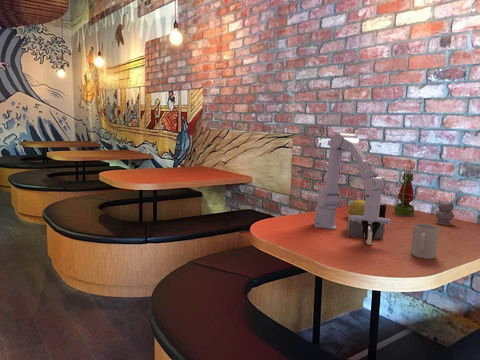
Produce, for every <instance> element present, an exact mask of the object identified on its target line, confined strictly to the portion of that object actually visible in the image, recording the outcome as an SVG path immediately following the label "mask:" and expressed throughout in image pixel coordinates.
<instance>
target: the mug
mask: <svg viewBox="0 0 480 360" xmlns="http://www.w3.org/2000/svg"><path fill="white" fill-rule="evenodd" d="M439 233H440V228H439V227H437V226H436V225H432V224H426V223H416V224H414V225H413V231H412V240H411V247H410V255H411V256H413V257H416V258H418V259H423V258H424V260H433V258H434V259H435V258H437V249H438V241H439Z"/></svg>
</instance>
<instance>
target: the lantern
mask: <svg viewBox="0 0 480 360" xmlns="http://www.w3.org/2000/svg"><path fill="white" fill-rule="evenodd" d="M409 163H410V166H412V165H413V164H412V160H410V159H409V160H408V161H407V164H406V171H405V172H403V175H402V179H401V180H402V181H403V182H402V184H401V187H400V189H399V192H397V198H398V200H399V202H400V203H397V204H395V205H394V210H393V214H394V215H396V216H400V217H414V216H415V214H414V212H415V207H414V205H412V204H410V203H411V202H412V201H413V200H414V198H415V194H414V188H413V181H414V173H413V172H412V167H408V166H409Z"/></svg>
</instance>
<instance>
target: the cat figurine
mask: <svg viewBox="0 0 480 360" xmlns="http://www.w3.org/2000/svg"><path fill="white" fill-rule="evenodd" d="M437 202H438V204H437V207H438V209H437V210H436V212H435V217H436V218H437V220H436V224H437V225H440V224H441V226H447V225H449V226H451V221H452V220H453V219H454V218H455V214H454V212H453V210H454V209H455V208H454V207H455V206H454V202H451V201H449V200H440V199H437Z"/></svg>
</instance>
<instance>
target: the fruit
mask: <svg viewBox="0 0 480 360" xmlns="http://www.w3.org/2000/svg"><path fill="white" fill-rule="evenodd" d="M364 208H365V200H363V199H355V200H352V201H350V203H349V204H348V207H347V211H348V213H349V214H348V215H357V216H364Z"/></svg>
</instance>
